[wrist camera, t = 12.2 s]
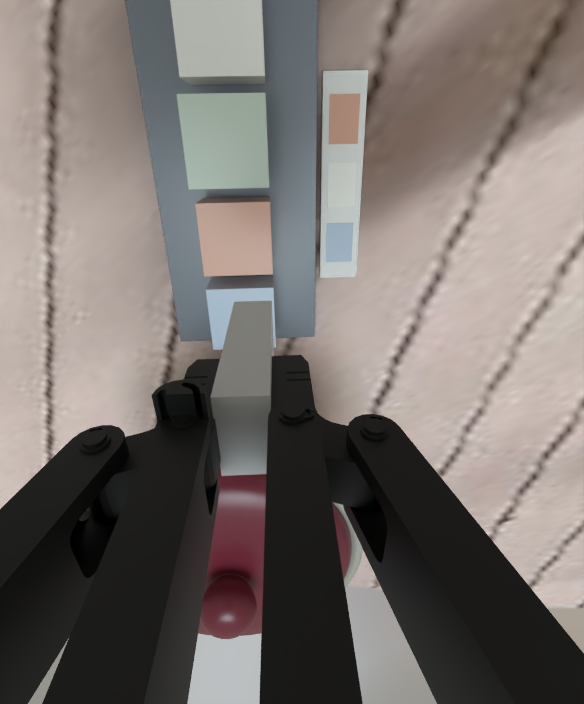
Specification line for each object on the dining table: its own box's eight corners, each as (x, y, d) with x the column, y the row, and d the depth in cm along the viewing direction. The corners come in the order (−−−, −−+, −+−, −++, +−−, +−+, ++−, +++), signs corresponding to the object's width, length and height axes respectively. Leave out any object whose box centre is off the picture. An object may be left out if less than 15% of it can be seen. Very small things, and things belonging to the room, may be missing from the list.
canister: (354, 361, 39) (429, 554, 21) (304, 489, 47) (326, 714, 28) (171, 320, 36) (64, 501, 18) (150, 464, 44) (61, 696, 25)
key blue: (211, 277, 32) (205, 289, 29) (273, 275, 32) (273, 287, 29) (218, 333, 34) (213, 349, 31) (275, 331, 34) (275, 347, 31)
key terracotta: (202, 198, 29) (195, 203, 26) (270, 196, 29) (269, 201, 26) (210, 265, 31) (204, 276, 28) (272, 263, 32) (272, 274, 29)
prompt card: (322, 72, 28) (323, 70, 28) (366, 71, 28) (368, 69, 28) (319, 276, 35) (320, 278, 34) (355, 275, 35) (356, 277, 35)
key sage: (187, 100, 25) (176, 93, 22) (265, 99, 25) (265, 92, 22) (197, 185, 27) (188, 189, 24) (269, 183, 27) (269, 187, 25)
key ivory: (178, -15, 24) (165, -38, 21) (261, -16, 24) (260, -39, 21) (189, 85, 26) (179, 76, 23) (265, 84, 26) (264, 75, 23)
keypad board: (130, -20, 25) (106, -49, 22) (314, -21, 26) (322, -49, 22) (185, 332, 37) (175, 352, 33) (312, 327, 37) (316, 347, 34)
